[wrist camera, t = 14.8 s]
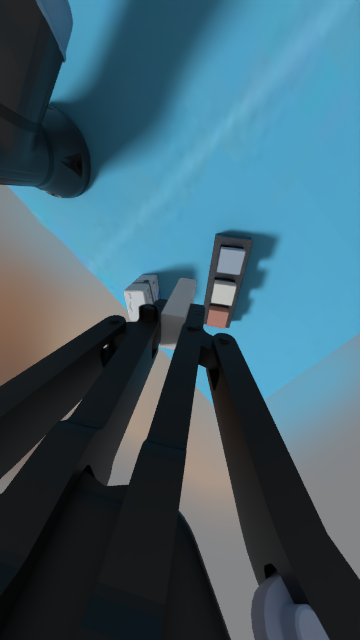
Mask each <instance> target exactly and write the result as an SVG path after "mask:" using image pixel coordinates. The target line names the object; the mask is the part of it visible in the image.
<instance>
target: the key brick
mask: <svg viewBox="0 0 360 640" xmlns="http://www.w3.org/2000/svg"><path fill="white" fill-rule="evenodd" d="M228 314H229V310H228V308H225V306H219V305H213V304H212V306H210V308H209V313H208V319H207V326H213V327H219V328H225V326H226V322H227V318H228Z"/></svg>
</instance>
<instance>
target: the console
mask: <svg viewBox="0 0 360 640" xmlns="http://www.w3.org/2000/svg"><path fill="white" fill-rule="evenodd" d="M252 242H253V240H252V239H251V238H247V237H238V236H229V235H220V234H216V235H215V241H214V247H213V253H212V259H211V265H210V271H209V277H208V283H207V289H206V295H205V301H204V307H205V309H206V310H205V317H204V324H207V319H208V311H209V305H210V304H213V305H219V306H226V307H227V308H228V310H229V314H228V318H227V322H226V326H225V327H226V328H229V326H230V323H231V319H232V315H233V312H234V308H235V304H236V301H237V297H238V293H239V290H240V286H241V282H242V279H243V275H244V271H245V268H246V264H247V260H248V257H249V253H250V249H251V246H252ZM221 244H222V245H231V246H239V247H241V249H244V250H245V256H244V259H243V263H242V267H241V271H240V275H236V274H228V273H221V272H217V267H218V257H219V252H220V247H221ZM215 277H219V278H227V279H234V280H233V283H236V290H235V294H234V298H233V302H232V306H230V305H223V304H217V303H211V299H212V293H213V290H212V289H213V284H214V279H215Z"/></svg>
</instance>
